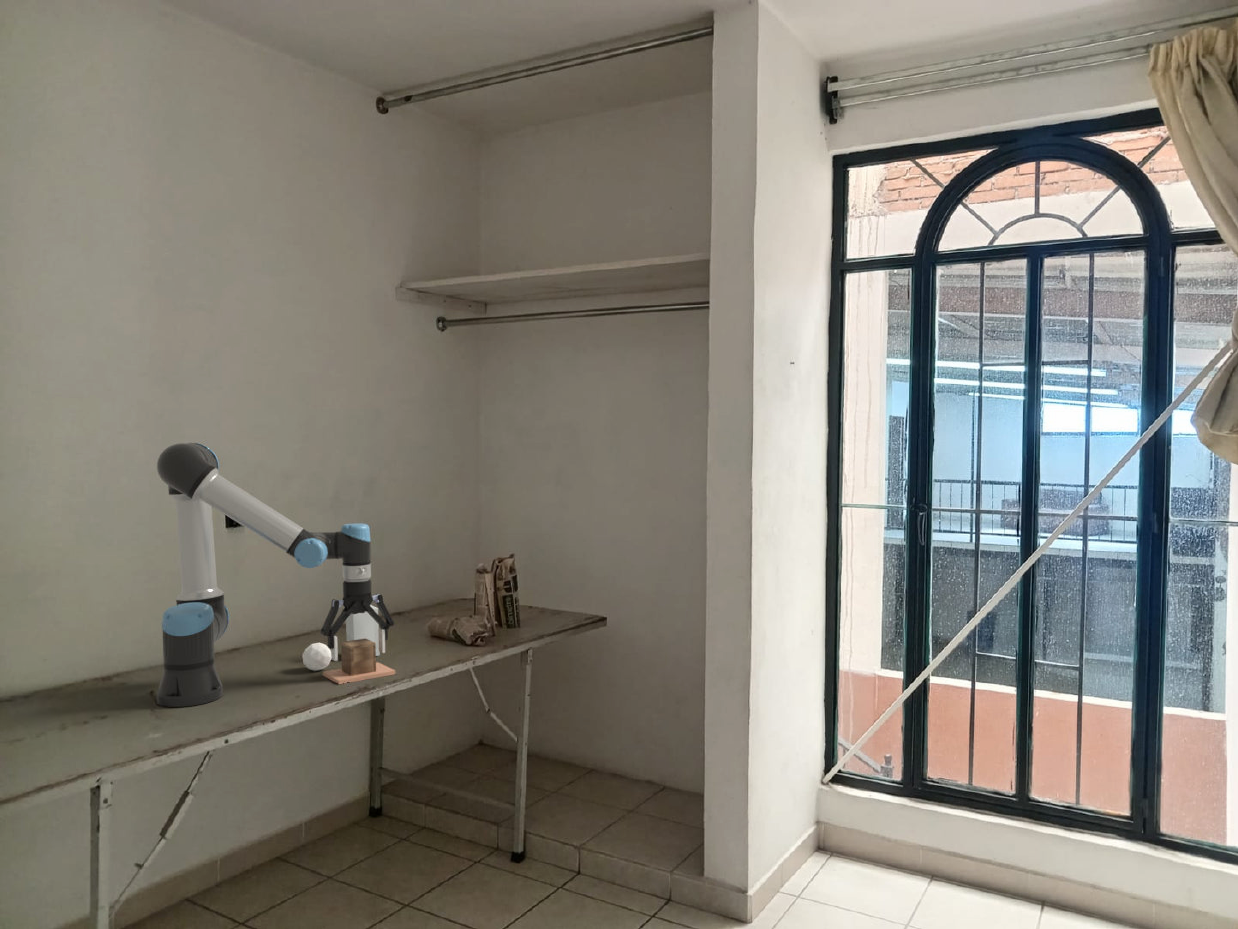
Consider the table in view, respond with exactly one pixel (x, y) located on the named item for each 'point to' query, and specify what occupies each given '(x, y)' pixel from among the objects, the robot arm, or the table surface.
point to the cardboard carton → (358, 656)
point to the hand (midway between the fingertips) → (358, 656)
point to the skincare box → (363, 628)
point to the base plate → (343, 677)
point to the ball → (316, 656)
